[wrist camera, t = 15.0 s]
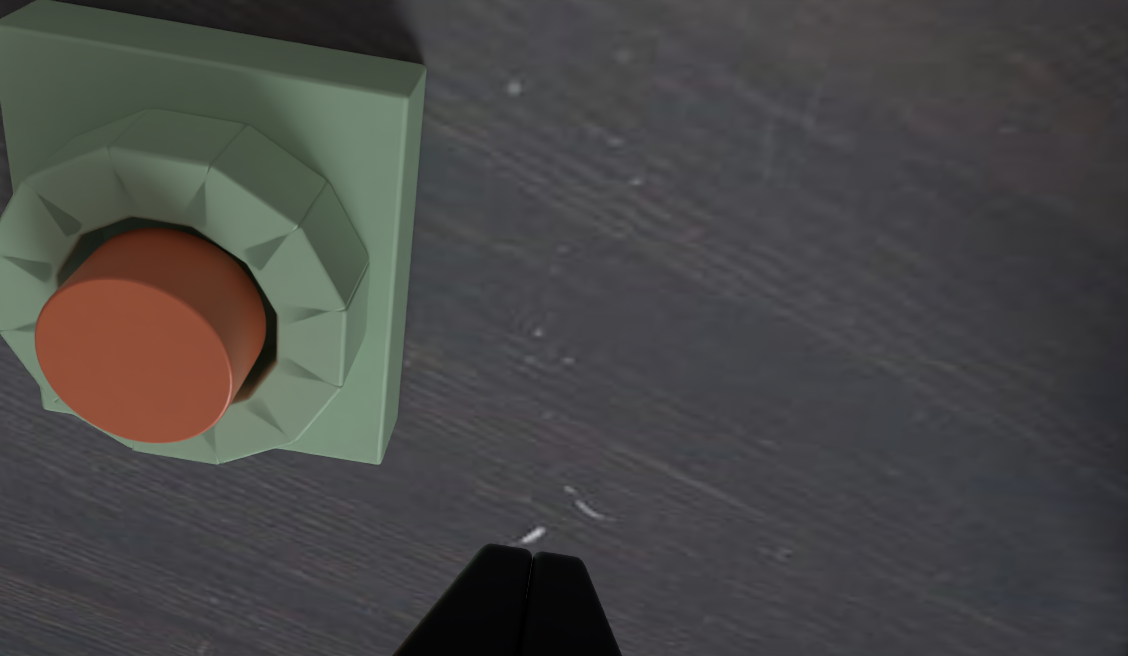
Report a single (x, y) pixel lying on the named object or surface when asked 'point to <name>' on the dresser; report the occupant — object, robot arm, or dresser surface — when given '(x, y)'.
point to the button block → (223, 202)
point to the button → (151, 335)
